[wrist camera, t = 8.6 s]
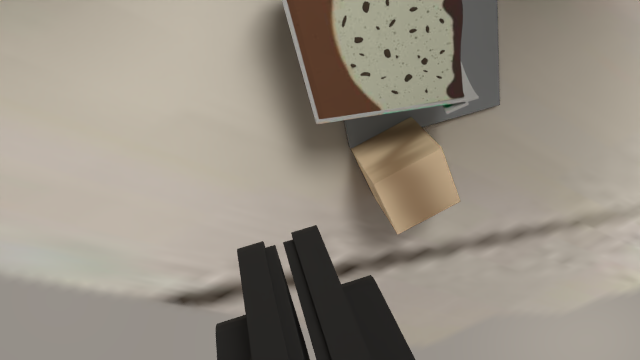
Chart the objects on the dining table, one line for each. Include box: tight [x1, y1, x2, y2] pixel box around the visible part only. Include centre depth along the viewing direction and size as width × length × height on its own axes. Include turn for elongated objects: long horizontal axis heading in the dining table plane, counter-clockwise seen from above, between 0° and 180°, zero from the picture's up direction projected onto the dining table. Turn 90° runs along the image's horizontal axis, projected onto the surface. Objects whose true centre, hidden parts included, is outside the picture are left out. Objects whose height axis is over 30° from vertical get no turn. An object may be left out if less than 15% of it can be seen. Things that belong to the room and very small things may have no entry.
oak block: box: [351, 117, 460, 234], centre depth 36 cm, size 5×5×5 cm
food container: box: [282, 0, 479, 124], centre depth 30 cm, size 12×6×10 cm
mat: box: [344, 0, 500, 148], centre depth 33 cm, size 12×18×1 cm, turn 12°
